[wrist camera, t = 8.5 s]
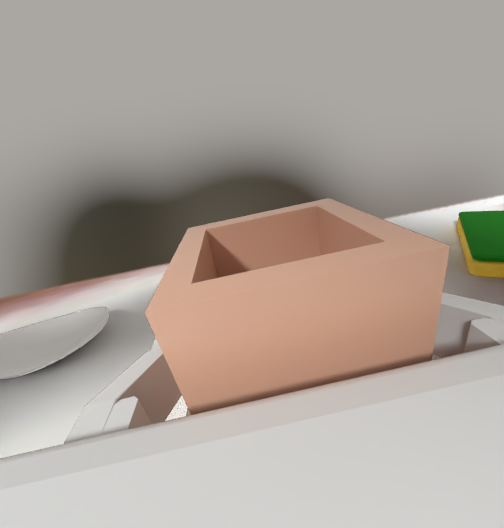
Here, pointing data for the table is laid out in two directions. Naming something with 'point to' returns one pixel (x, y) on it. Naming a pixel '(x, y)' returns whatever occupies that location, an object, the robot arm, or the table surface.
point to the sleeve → (295, 302)
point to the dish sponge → (483, 242)
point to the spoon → (48, 341)
